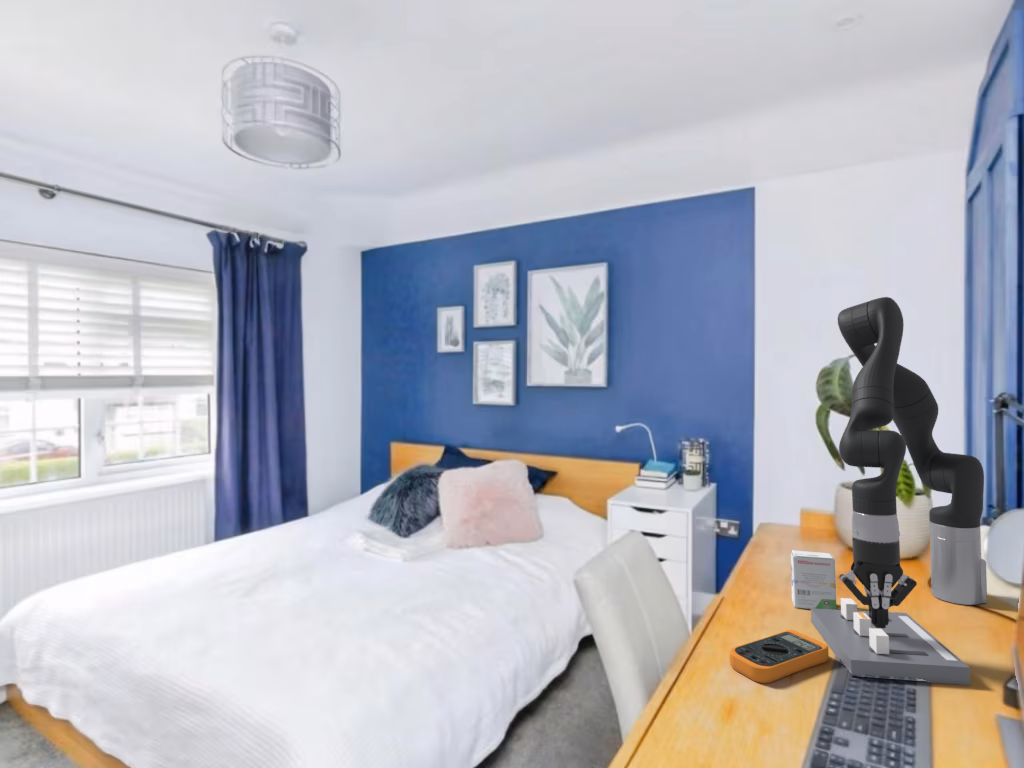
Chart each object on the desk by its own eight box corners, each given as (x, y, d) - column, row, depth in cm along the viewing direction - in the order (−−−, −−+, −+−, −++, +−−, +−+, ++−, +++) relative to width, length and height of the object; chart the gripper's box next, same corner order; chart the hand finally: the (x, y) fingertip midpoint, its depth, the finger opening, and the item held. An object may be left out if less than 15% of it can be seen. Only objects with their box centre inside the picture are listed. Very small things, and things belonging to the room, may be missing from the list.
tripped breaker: (865, 629, 108) (864, 612, 108) (871, 636, 105) (871, 618, 105) (853, 628, 108) (853, 611, 108) (859, 635, 105) (859, 618, 105)
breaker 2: (881, 646, 101) (881, 628, 101) (889, 654, 98) (888, 636, 98) (869, 645, 102) (869, 628, 102) (876, 653, 99) (876, 635, 99)
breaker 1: (851, 614, 115) (851, 598, 115) (857, 620, 112) (857, 604, 112) (841, 613, 115) (840, 598, 115) (846, 619, 112) (846, 603, 112)
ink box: (793, 608, 126) (792, 555, 126) (791, 599, 131) (789, 549, 131) (837, 612, 123) (835, 558, 123) (832, 603, 128) (831, 551, 128)
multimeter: (723, 666, 103) (723, 648, 103) (791, 644, 110) (790, 626, 110) (762, 689, 95) (761, 669, 95) (832, 663, 103) (831, 644, 103)
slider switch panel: (906, 627, 115) (906, 612, 115) (970, 685, 93) (969, 666, 93) (811, 622, 119) (810, 607, 119) (851, 677, 97) (850, 659, 97)
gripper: (904, 530, 108) (908, 619, 108) (830, 529, 111) (833, 616, 111) (924, 541, 101) (928, 637, 101) (844, 540, 104) (848, 633, 104)
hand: (878, 626), depth 106 cm, fingers closed
